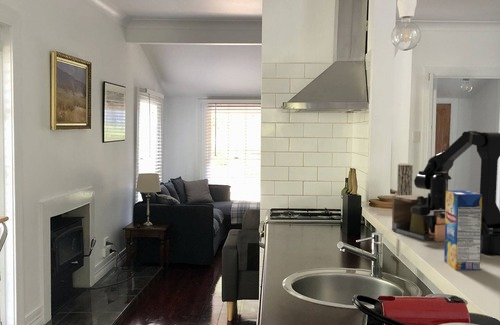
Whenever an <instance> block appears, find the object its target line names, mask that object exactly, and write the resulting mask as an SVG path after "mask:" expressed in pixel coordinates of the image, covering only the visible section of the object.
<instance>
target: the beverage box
mask: <svg viewBox="0 0 500 325" xmlns="http://www.w3.org/2000/svg"><path fill="white" fill-rule="evenodd" d="M481 214H482V194H480V192H479V193H478V192H475V191H471V190H453V189H452V190H451V189H450V190H446V208H445V241H444V253H443V255H444V256H443V258H444V259H443V260H444V263H446V264H447V265H448V266H450V268H452V269H454V270H455V271H481V252H480V251H481Z"/></svg>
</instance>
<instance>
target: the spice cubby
mask: <svg viewBox="0 0 500 325" xmlns="http://www.w3.org/2000/svg"><path fill="white" fill-rule="evenodd" d="M419 196H423V197H424V198H427V197H428V196H427V195H426V196H425V195H419V194H412V195H401V196H397V195H392V204H391V205H392V210H391V211H392V212H391V215H392V216H391V217H392V219H391V220H392V221H391V230H392V231H393V223H398V222H411V217H412V213H411V207H412V206H414V205H418V204H417V197H419ZM420 206H421V205H420ZM438 214H439V212H434V215H435V216H436V217H439V216H438ZM423 220H424V229H425V233H428V234H429V225H428V223H427V220H426V218H425V217H424V216H423Z"/></svg>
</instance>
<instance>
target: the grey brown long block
mask: <svg viewBox="0 0 500 325" xmlns="http://www.w3.org/2000/svg"><path fill="white" fill-rule="evenodd" d="M410 224H411V222H398V223H393V230H392V232H394V233H397V234H401V235H405V236H408V237H412V238H414V239H418V240H422V241H427V242H428V240H429V241H434V242H436V243H439V241H441V242H445V218H441V216H438V217H436V221H435V229H434V233H431V231H430V228H429V233H428V235H426V234H420V233H416V232H412V231H409V230H410Z"/></svg>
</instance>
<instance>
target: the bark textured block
mask: <svg viewBox="0 0 500 325" xmlns="http://www.w3.org/2000/svg"><path fill="white" fill-rule="evenodd" d="M413 167H414V166H413V163H402V162H401V163H397V181H396V182H397V183H396V184H397V189H396V192H397V193H396V196H401V195H413V172H414V171H413V170H414V169H413Z"/></svg>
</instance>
